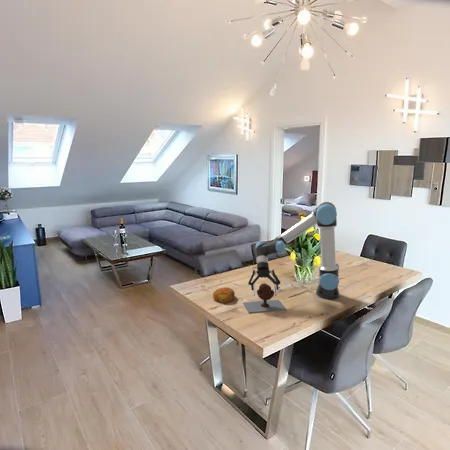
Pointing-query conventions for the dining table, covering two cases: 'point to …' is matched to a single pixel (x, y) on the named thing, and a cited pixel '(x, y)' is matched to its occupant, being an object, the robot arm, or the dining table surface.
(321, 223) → the robot arm
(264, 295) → the ice cream bowl
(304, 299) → the dining table surface
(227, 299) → the orange-brown rounded lump
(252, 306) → the placemat
